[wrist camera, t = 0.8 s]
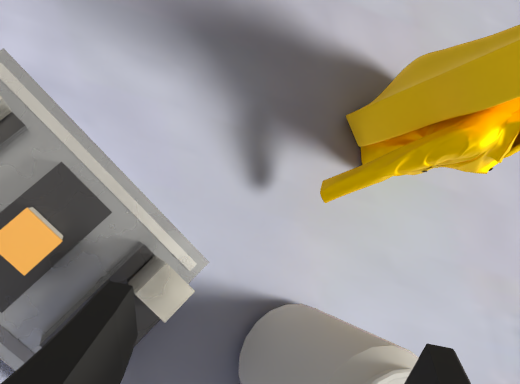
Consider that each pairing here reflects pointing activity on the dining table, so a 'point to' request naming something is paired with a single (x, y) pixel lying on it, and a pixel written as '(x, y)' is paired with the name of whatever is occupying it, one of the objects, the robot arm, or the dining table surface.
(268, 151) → the dining table surface
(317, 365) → the can
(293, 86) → the dining table surface
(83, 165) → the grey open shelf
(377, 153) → the figure statuette
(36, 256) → the handle
